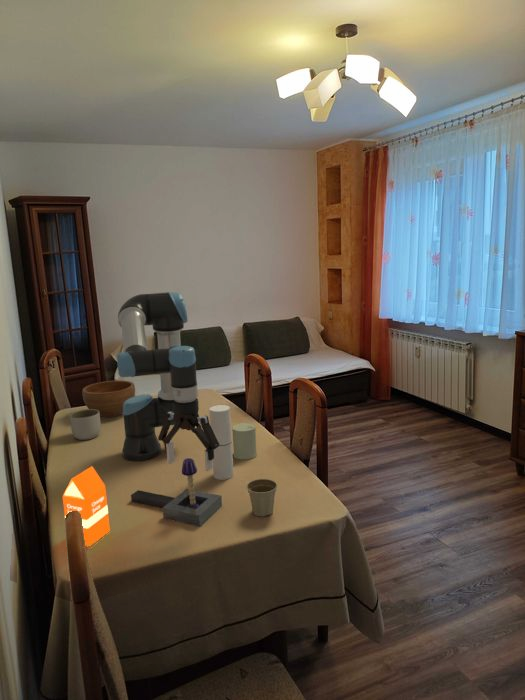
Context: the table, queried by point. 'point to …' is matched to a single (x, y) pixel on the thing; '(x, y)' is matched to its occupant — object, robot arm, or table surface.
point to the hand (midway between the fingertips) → (189, 465)
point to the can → (244, 441)
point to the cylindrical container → (222, 442)
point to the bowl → (108, 396)
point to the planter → (85, 424)
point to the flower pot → (262, 496)
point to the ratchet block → (181, 505)
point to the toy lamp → (190, 480)
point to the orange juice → (88, 504)
